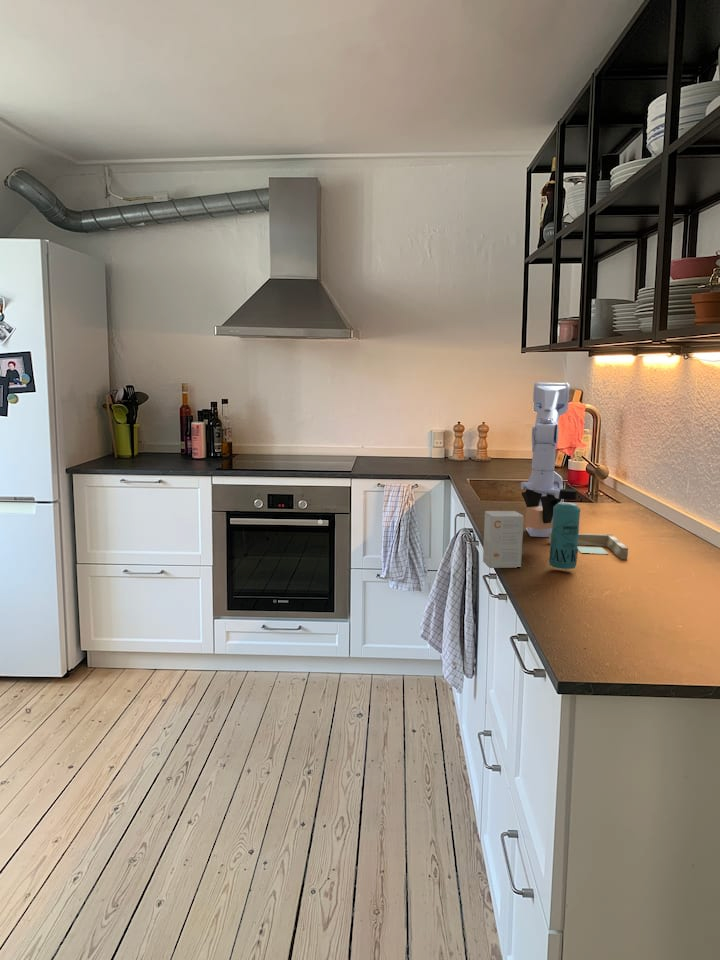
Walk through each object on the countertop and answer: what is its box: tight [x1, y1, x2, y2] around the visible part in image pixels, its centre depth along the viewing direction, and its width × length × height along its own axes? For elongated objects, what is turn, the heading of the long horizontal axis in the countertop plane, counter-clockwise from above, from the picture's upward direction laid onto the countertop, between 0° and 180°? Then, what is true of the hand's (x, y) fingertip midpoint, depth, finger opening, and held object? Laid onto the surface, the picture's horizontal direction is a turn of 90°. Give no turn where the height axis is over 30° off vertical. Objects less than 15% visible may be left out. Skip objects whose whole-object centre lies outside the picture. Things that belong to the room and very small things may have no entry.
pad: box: [577, 545, 609, 555], centre depth 192 cm, size 7×7×1 cm
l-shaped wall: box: [548, 532, 629, 560], centre depth 192 cm, size 15×17×3 cm
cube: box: [524, 506, 553, 530], centre depth 189 cm, size 5×5×5 cm
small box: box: [482, 510, 525, 569], centre depth 176 cm, size 8×6×13 cm
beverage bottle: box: [548, 488, 582, 570], centre depth 171 cm, size 6×7×20 cm
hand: (539, 520), depth 189 cm, fingers closed on cube, 5 cm apart
